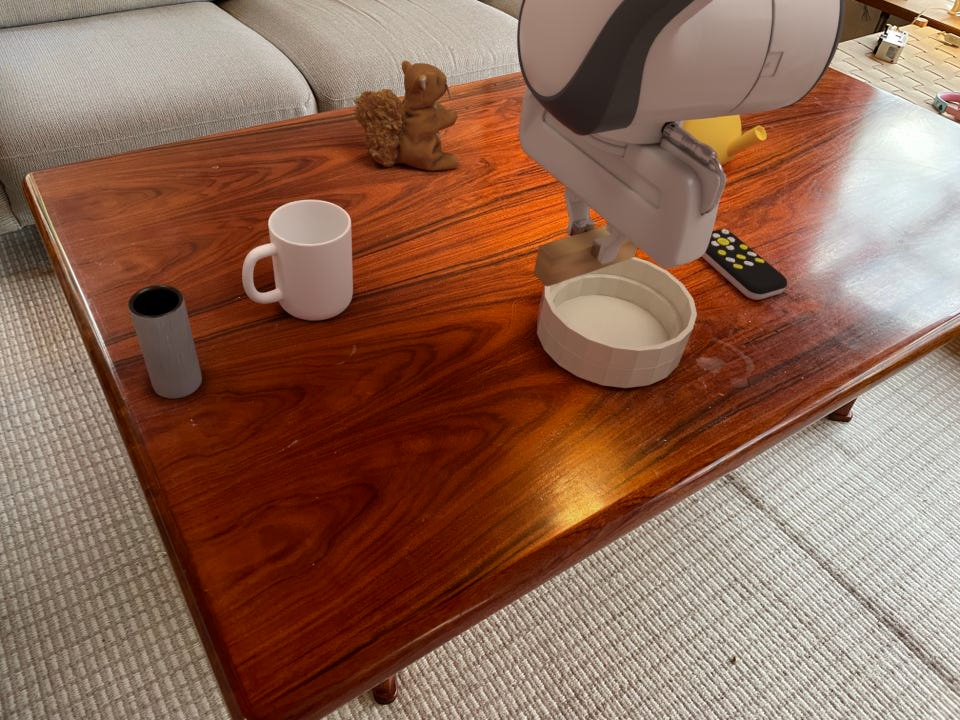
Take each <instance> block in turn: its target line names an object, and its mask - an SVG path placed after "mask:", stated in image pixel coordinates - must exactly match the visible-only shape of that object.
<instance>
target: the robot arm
mask: <svg viewBox="0 0 960 720" xmlns="http://www.w3.org/2000/svg"><path fill="white" fill-rule="evenodd" d="M845 14H846V0H522V1H521V4H520V10H519V13H518V21H517V30H516V47H517V48H516V51H517V57H518V64H519V68H520V72H521V75H522V78H523V81H524V83H525V84H526V87H525V91H524V93H523V99H522V102H521V103H522V105H521V110H520V116H519V124H518V139H519V145H520V146H521V150H522V152H523V153H524V154H525V155H526V156H528V158H529V159H531V160H532V161H534V162H535V163H536V164H537V165H538V166H539V167H541V168H542V169H543V170H544V171H546V173H548V174H549V175H550V176H551V177H553V178H554V179H555V180H556V181H558V182H559V183H560V184H561V185H562V186H563V187H565V190H564V194H563V196H564V197H563V198H564V201H565V206H566V211H567V217H568V218H569V220H568V223H567V229H566V234H567V235H568V237H570V236H573V235H576V234H579V233H583V232H586V231H589V230H593V229H595V226H596V221H595V220H593V218H591V210H590V209H592V210H593V211H594V212H595V213H596V214H597V215H598V216H600V217H601V218H602V219H603V220H604V221H606V222H607V224H606V225H607V227H606V230H607V232H609V233H610V234H609V235H606V236H604V237H603V238H597V239H594V241H593V244H592V248H593V249H592V250H591V255H592V256H593V257H594V258H595V259H596V260H597V261H599V262H600V263H601V264H603V265H604V264H607V263H610V262H612V261H614V260H615V259H616V257H617V254H618V251H619V247H620V244H622V243H624V242H625V241H626V240H628V239H629V240H630V241H631V242H632V243H634V244H635V245H636V246H637V247H638V248H637V249H639V250H640V251H642V252H643V254H645V255H647V256H648V257H649V258H650V259H652V261H654V262H655V263H656V265H658V266H659V267H660V268H662V269H664V270H669V269H674V268H678V267H681V266H684V265H687V264H690V263H692V262H694V261H696V260H698V259H700V258H702V257H701V256H702V255H704V253H705V252H706V249H707V247H708V244H709V241H710V238H711V234H712V231H714V226H715V224H716V219H717V215H718V212H719V211H718V209H719V204H720V200H721V198H722V194H723V192H724V190H725V187H726V183H727V175H726V173H725V171H724V169H723V165H722V166H721V164H720V162H719V161H718V160H717V157H718V154H717V152H716V151H715V150H714V149H713V148H712V147H710V146H709V145H707V144H705V143H701V142H700V141H698V140H697V139H696V138H694V137H693V136H692V135H691V134H690V133H689V132H687V131H686V130H685V129H683V128H682V127H683V124H684V121H685V120H695V119H706V118H716V117H722V116H733V115H740V116H742V115H752V114H758V113H767V112H769V111H771V112H772V111H774V110H778V109H785V108H789V107H791V106H794V105H795V104H797V103H799V102H800V101H801V100H803V99H804V98H805V97H806V96H807V95H809V94H810V93H811V91H812V90H813V89H814V88H815V87H816V86H817V85H818V84H819V82H820V81H821V80H822V78H823V77H824V75H825V74H826V72H827V70H828V69H829V67H830V65H831V63H832V61H833V59H834V57H835V56H836V52H837V50H838V47H839V44H840V41H841V37H842V34H843V30H844V24H845V16H846V15H845ZM712 164H713V165H714V166H715V167H714V166H713V165H712Z"/></svg>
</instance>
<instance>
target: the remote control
mask: <svg viewBox="0 0 960 720" xmlns="http://www.w3.org/2000/svg"><path fill="white" fill-rule="evenodd" d="M700 258H702V259H703V260H704V261H706V263H707V264H709V265H710V266H711V267H712V268H714V269H715V270H716V271H717V272H718V273H719V274H720V275H721V276H722V277H723V278H725V280H727V281H728V282H729V283H730V284H731V285H732V286H734V287H735V288H736V289H737V290H738V291H739V292H740V293H742V294H743V295H744V296H745V297H746V298H747V299H750V300H753V301H760V300H763V299H767V298H770V297H773V296H774V297H775V296H777V295H781V294H782V293H783V292H785V290H786V289H787V286H788V280H787V278H786V277H785V275H784V274H782V273H781V272H780V271H779V270H777V269H776V268H775V267H774V266H773V265H772V264H770V263H769V262H768V261H767V260H765V258H763V257H761V255H759V254H758V253H757V252H756V251H755V250H753V249H752V247H750V246H749V245H747V244H746V243H745V242H744V241H743V240H742V239H740V238H739V237H738V236H736V235H735V234H734V233H732V232H731V231H729V230H728V229H725V228H723V229H716V230H713V231H712V234H711V238H710V241H709V244H708V247H707V249H706V252H705V253H704V255H702V256H701V257H700Z"/></svg>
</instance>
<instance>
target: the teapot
mask: <svg viewBox="0 0 960 720" xmlns="http://www.w3.org/2000/svg"><path fill="white" fill-rule="evenodd" d="M682 128H683V129H685V130H686V131H687V132H689V133H690V134H691V135H692V136H693V137H694V138H696V139H697V140H698V141H700V142H701V143H705V144H707V145H709V146H710V147H712V148H713V149H714V150H715V151H716V152H717V154H718V157H717V160H718V161H719V162H720V164H721V166H722V167H723V166H724V165H726V164H728V163H730V162H731V161H732V160H734V158H736V156H737V155H738V154H741V153H742V152H744V151H746V150H748V149H750V148H752V147H754V146H756V145H757V144H760V143H762V142H763V141H765V140H766V139H767V136H768V135H767V134H768V133H767V132H766V129H765V127H763V126H762V125H756V126H754V127H753V128H751V129H749V130H748V131H745V132H744V133H743V131H742V128H743V127H742V121H741V115H733V116H722V117H716V118H706V119H695V120H685V121H684V124H683V127H682ZM742 133H743V134H742ZM727 162H728V163H727ZM712 165H713V164H712ZM713 166H714V165H713Z"/></svg>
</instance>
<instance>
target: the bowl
mask: <svg viewBox="0 0 960 720" xmlns="http://www.w3.org/2000/svg"><path fill="white" fill-rule="evenodd" d="M697 317H698V313H697V308H696V303H695V300H694V298H693V296H692V295H691V293H690V292H689V291H688V289H687V287H686V286H685V284H684V283H682V282H681V281H680V280H679V279H678V278H677V277H675V276H674V275H673V274H671V273H670V272H669V271H668V270H667V269H665V268H663V267H661V266H659V265H658V264H655V263H653V262H651V261H649V260H646V259H642V258H639V257H637V256H635V257H634V258H631V259H628V260H625V261H622V262H619V263H616V264H613V265H610V266H607V267H604V268H601V269H598V270H595V271H592V272H589V273H586V274H583V275H581V276H578V277H575V278H572V279H569V280H566V281H563V282H560V283H557V284H554V285H551V286H548V287H546V286H545V285H544V284H543V288H542V293H541V298H540V303H539V307H538V312H537V317H536V334H537V337H538V340H539V342H540V343H541V347H542V348H543V350H544V351H545V352H546V354H548V356H549V357H550V358H551V359H552V360H553V361H554V362H555V363H556V364H557V365H558V366H559V367H561V368H563V369H564V370H566V371H568V372H569V373H571V374H572V375H574V376H575V377H578V378H580V379H583V380H586V381H588V382H591V383H595V384H597V385H600V386H605V387H612V388H613V387H614V388H621V389H629V388H638V387H647V386H650V385H652V384H655V383H657V382H660V381H662V380H665V379H666V378H668V377H669V376H670V375H671V373H672V372H673V371H675V369H676V368H677V367H678V366H679V364H680V362H681V359H682V357H683V354H684V352H685V350H686V347H687V345H688V341H689V339H690V338H691V335H692V332H693V330H694V327H695V323H696V320H697Z"/></svg>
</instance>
